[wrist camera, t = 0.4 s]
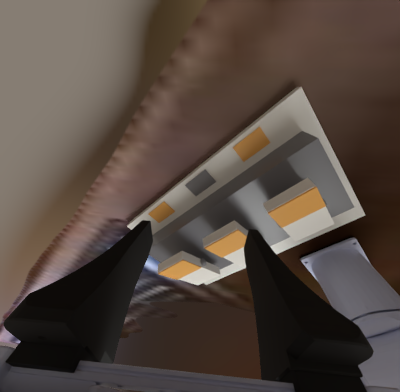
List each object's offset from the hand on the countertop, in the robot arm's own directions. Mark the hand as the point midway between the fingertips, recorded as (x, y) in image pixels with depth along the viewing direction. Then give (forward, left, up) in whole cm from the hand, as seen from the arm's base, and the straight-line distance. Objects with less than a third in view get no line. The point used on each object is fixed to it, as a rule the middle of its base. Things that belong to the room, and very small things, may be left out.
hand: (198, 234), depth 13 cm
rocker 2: (-6, +1, -4) cm, 8 cm away
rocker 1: (-6, +8, -4) cm, 11 cm away
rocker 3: (-6, -6, -4) cm, 10 cm away
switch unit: (-7, +1, -10) cm, 12 cm away
